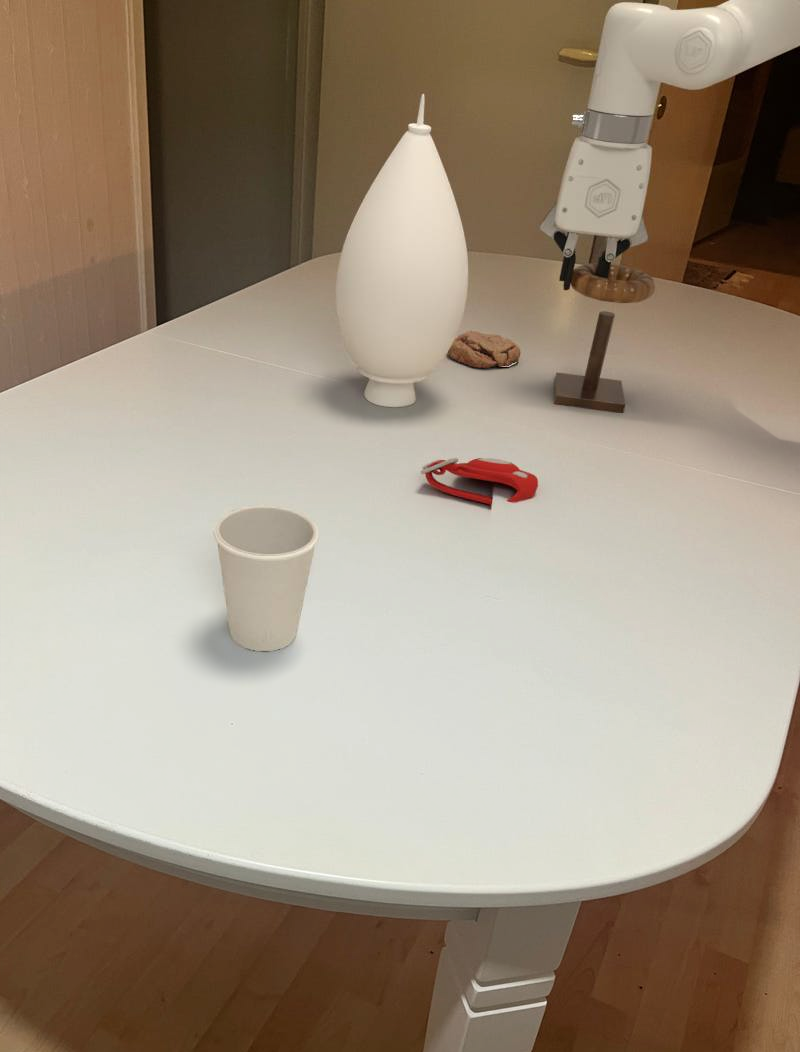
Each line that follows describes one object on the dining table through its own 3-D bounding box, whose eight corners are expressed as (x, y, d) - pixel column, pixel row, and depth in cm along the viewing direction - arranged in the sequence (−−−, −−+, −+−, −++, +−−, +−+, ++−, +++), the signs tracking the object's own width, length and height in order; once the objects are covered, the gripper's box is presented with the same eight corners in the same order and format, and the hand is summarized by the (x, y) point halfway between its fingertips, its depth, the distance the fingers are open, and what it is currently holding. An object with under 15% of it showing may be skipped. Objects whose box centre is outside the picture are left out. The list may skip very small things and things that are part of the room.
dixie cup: (223, 599, 85) (223, 499, 79) (317, 609, 85) (324, 509, 79) (205, 655, 78) (203, 550, 72) (306, 666, 78) (313, 561, 72)
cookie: (529, 369, 138) (533, 348, 136) (460, 371, 135) (464, 350, 134) (502, 345, 146) (506, 325, 144) (437, 347, 143) (439, 327, 141)
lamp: (421, 372, 134) (458, 85, 113) (469, 417, 122) (520, 105, 101) (314, 378, 130) (331, 81, 109) (352, 426, 118) (380, 102, 97)
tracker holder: (493, 454, 111) (559, 468, 103) (486, 492, 112) (551, 509, 104) (414, 450, 103) (479, 465, 96) (408, 491, 105) (472, 508, 97)
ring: (647, 287, 126) (653, 266, 125) (654, 310, 118) (660, 288, 116) (568, 277, 127) (572, 257, 126) (569, 299, 119) (573, 278, 117)
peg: (619, 388, 134) (640, 307, 127) (623, 413, 126) (645, 328, 120) (554, 380, 135) (571, 299, 128) (554, 403, 128) (572, 319, 121)
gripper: (545, 126, 110) (515, 289, 121) (691, 141, 108) (647, 305, 119) (545, 118, 116) (517, 274, 127) (683, 131, 114) (643, 289, 125)
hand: (581, 287), depth 123 cm, fingers closed on ring, 3 cm apart
